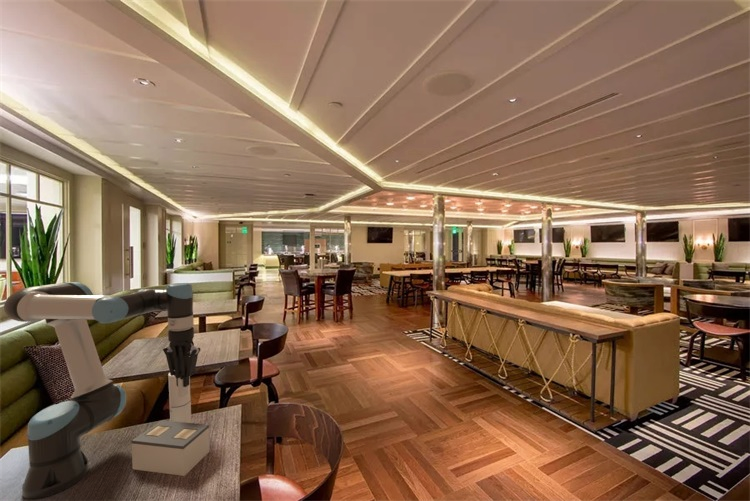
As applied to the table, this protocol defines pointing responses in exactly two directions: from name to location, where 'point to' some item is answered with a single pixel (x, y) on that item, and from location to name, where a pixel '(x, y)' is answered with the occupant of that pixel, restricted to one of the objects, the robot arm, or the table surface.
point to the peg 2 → (185, 434)
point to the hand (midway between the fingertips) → (183, 395)
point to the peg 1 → (157, 431)
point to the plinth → (170, 448)
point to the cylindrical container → (179, 402)
